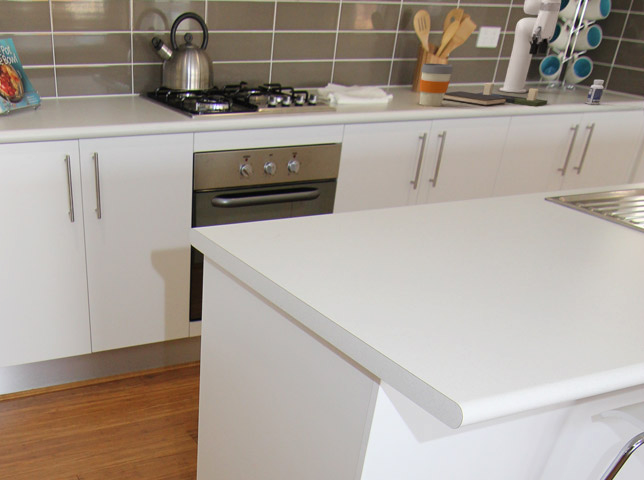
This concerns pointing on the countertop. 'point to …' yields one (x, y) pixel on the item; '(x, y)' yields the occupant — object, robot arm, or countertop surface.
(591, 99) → the pill bottle
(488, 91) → the slate tile
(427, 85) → the reusable coffee cup
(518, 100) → the olive tile
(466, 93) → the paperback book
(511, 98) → the base tile
